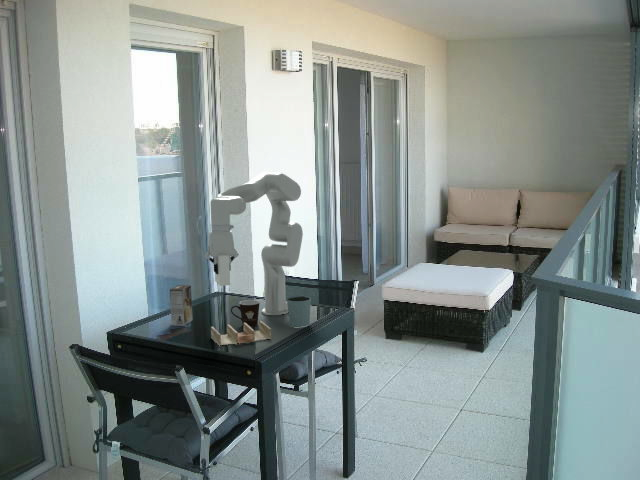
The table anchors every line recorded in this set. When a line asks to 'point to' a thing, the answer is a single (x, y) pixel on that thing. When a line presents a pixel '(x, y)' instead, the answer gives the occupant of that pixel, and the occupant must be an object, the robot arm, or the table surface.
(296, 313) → the grey plant pot
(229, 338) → the divider rack
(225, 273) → the white rectangular block
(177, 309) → the coffee box
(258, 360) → the table surface
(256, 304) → the coffee mug
